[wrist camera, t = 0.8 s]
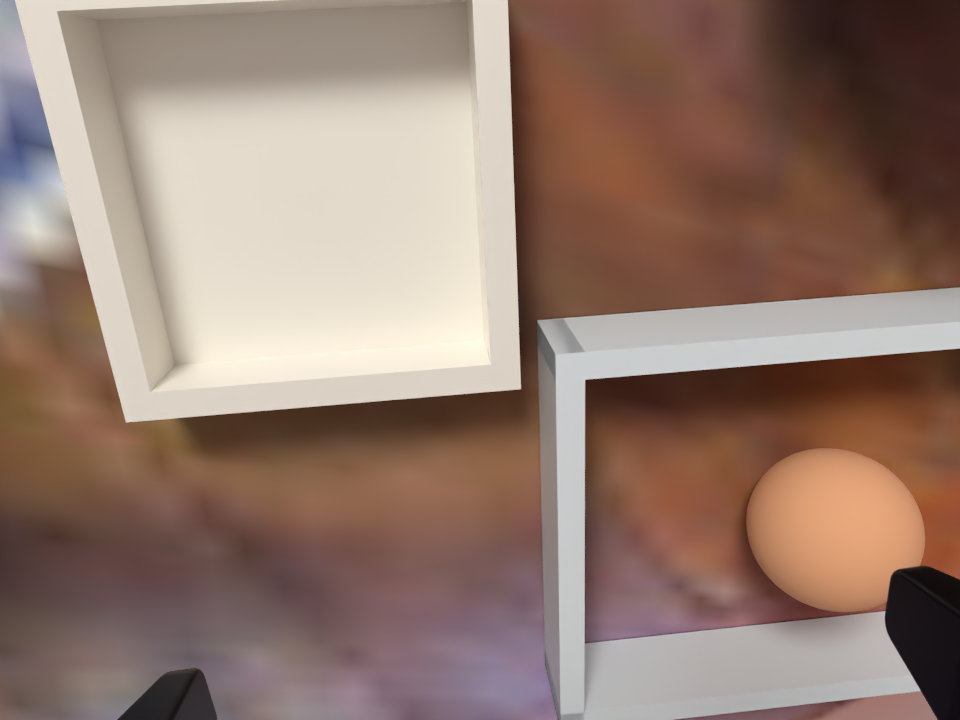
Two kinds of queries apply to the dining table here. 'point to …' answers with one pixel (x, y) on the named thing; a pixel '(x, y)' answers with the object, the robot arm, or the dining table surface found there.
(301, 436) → the dining table surface
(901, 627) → the robot arm
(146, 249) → the dish
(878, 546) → the ball
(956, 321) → the white c-shaped bracket
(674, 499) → the dining table surface
